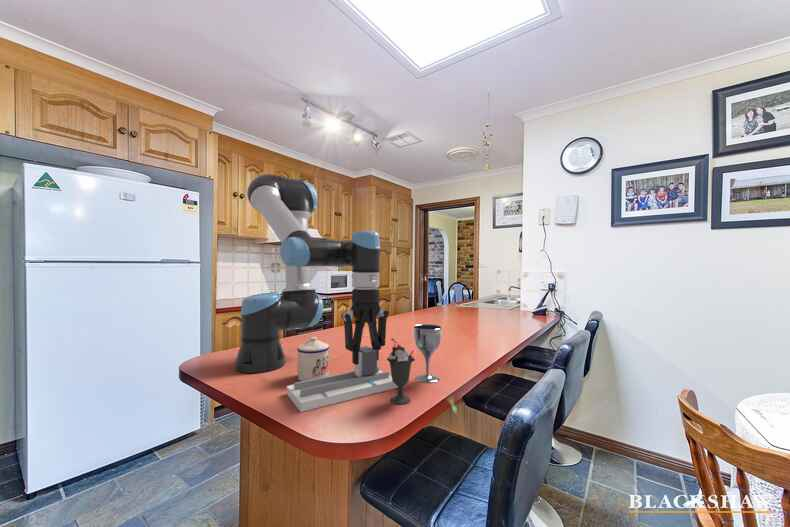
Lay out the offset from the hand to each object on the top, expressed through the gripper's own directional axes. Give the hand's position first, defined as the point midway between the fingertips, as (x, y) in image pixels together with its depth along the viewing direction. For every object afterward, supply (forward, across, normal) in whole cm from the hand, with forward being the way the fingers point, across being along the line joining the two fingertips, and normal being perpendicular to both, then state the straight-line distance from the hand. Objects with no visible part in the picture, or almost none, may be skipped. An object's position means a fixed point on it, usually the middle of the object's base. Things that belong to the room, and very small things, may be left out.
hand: (365, 374), depth 86 cm
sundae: (+3, +2, -13) cm, 14 cm away
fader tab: (+1, 0, 0) cm, 1 cm away
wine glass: (+3, +18, -5) cm, 18 cm away
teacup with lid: (+3, -8, +15) cm, 18 cm away
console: (+3, -6, 0) cm, 7 cm away
